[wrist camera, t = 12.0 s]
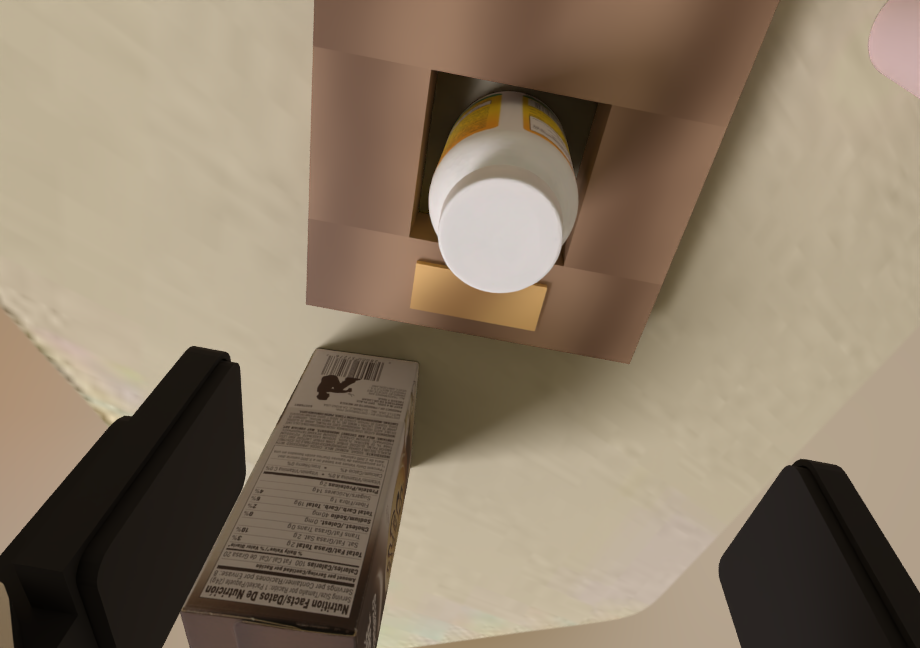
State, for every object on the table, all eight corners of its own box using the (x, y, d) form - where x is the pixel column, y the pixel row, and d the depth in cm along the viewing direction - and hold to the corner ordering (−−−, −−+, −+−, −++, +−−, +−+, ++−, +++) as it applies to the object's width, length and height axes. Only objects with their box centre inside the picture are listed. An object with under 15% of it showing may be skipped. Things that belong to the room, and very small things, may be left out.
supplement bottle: (575, 94, 25) (605, 164, 17) (555, 212, 28) (572, 319, 20) (450, 83, 25) (420, 145, 17) (443, 201, 28) (414, 303, 20)
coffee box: (413, 470, 38) (358, 758, 24) (316, 457, 38) (207, 737, 24) (423, 358, 33) (361, 642, 19) (311, 344, 33) (171, 616, 19)
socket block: (751, -11, 22) (785, -6, 19) (619, 330, 31) (630, 367, 28) (339, -94, 22) (314, -101, 19) (323, 275, 30) (304, 307, 28)
